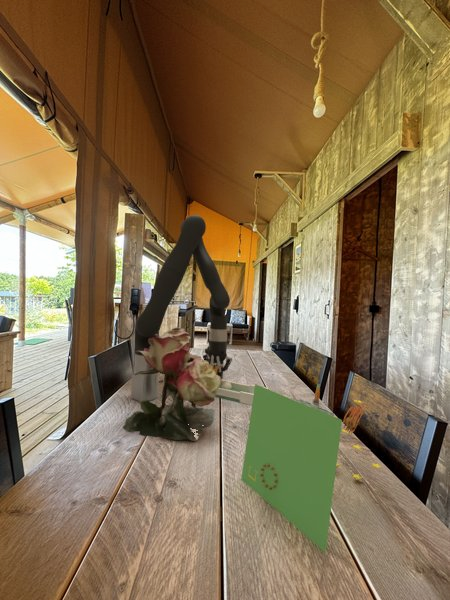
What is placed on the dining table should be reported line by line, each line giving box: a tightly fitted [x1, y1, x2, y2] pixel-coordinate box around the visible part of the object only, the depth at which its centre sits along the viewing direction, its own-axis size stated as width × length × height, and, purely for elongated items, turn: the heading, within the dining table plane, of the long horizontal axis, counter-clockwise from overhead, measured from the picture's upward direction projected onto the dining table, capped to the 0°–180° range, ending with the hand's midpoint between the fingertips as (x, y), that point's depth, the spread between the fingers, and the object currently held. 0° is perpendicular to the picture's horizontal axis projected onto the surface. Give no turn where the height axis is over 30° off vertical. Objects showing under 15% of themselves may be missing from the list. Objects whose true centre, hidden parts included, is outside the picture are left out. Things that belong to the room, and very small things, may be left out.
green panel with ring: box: [241, 383, 383, 553], centre depth 63 cm, size 22×25×24 cm
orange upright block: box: [213, 366, 223, 388], centre depth 120 cm, size 6×2×9 cm, turn 153°
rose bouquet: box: [122, 327, 221, 442], centre depth 92 cm, size 26×29×30 cm
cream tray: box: [215, 379, 270, 406], centre depth 116 cm, size 11×24×4 cm, turn 63°
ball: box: [222, 382, 232, 390], centre depth 118 cm, size 4×4×4 cm
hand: (216, 379), depth 120 cm, fingers closed on orange upright block, 2 cm apart
